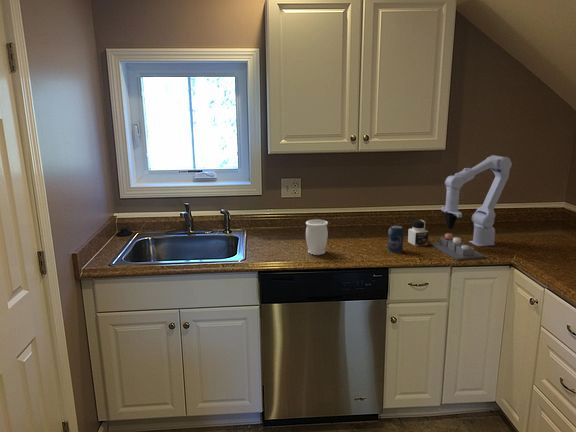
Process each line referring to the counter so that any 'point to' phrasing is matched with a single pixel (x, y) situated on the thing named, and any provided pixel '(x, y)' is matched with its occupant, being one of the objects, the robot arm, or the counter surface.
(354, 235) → the counter surface
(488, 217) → the robot arm
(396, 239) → the soda can
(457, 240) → the key ivory
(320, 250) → the jar
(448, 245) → the keypad base
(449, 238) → the key red
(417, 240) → the medicine bottle
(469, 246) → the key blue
